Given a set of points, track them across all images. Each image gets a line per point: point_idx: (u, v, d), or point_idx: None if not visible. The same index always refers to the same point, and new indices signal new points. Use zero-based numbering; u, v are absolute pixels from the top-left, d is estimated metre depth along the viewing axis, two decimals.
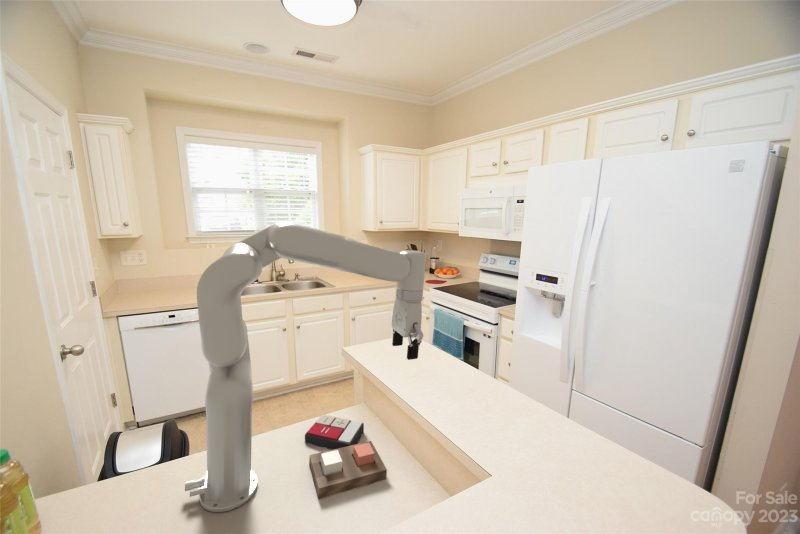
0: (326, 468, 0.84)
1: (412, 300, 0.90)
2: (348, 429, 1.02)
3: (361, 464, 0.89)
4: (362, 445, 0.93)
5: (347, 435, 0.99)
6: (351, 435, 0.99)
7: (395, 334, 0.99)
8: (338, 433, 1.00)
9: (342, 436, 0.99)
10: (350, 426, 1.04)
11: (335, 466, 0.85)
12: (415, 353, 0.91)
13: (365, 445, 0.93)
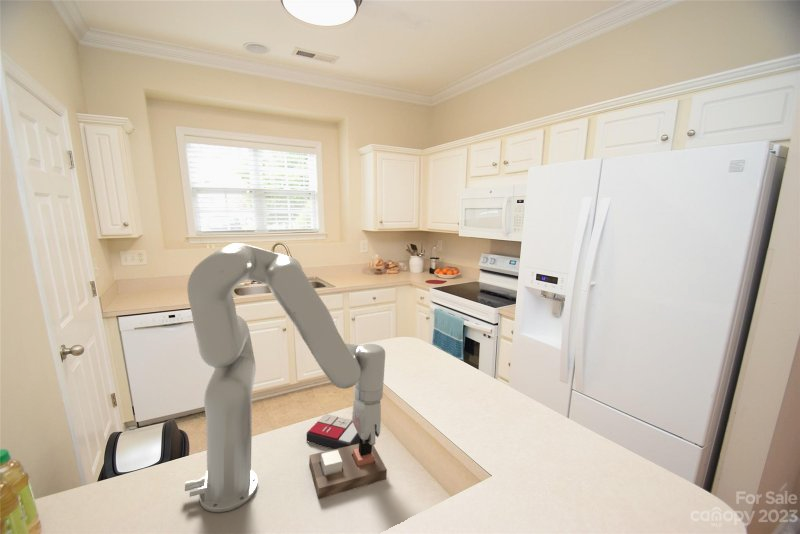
0: (326, 468, 0.84)
1: (370, 401, 0.85)
2: (349, 429, 1.02)
3: None
4: None
5: (348, 435, 0.99)
6: (352, 435, 0.99)
7: (361, 441, 0.90)
8: (339, 433, 1.00)
9: (343, 435, 0.99)
10: (351, 426, 1.04)
11: (335, 466, 0.85)
12: (368, 449, 0.90)
13: None
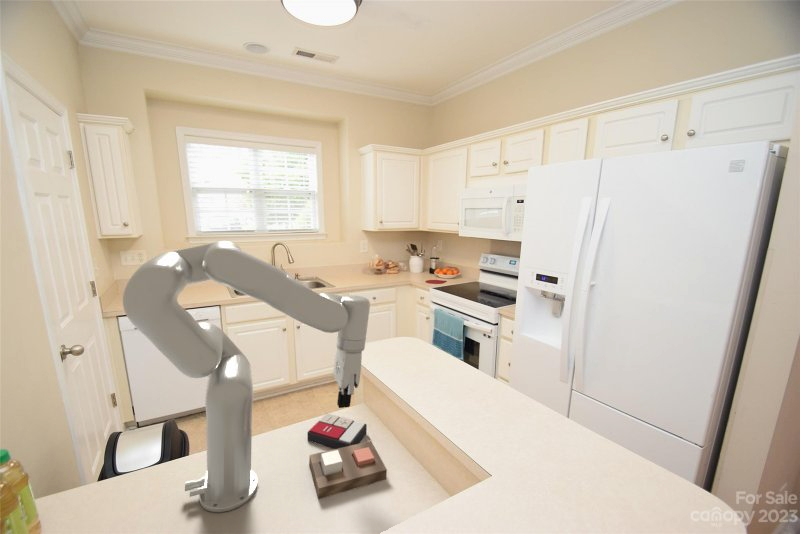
0: (326, 468, 0.84)
1: (351, 350, 0.85)
2: (350, 429, 1.02)
3: None
4: (362, 450, 0.93)
5: (348, 435, 0.99)
6: (352, 435, 0.99)
7: None
8: (340, 433, 1.00)
9: (344, 435, 0.99)
10: (352, 426, 1.04)
11: (335, 466, 0.85)
12: (346, 402, 0.89)
13: (365, 450, 0.93)
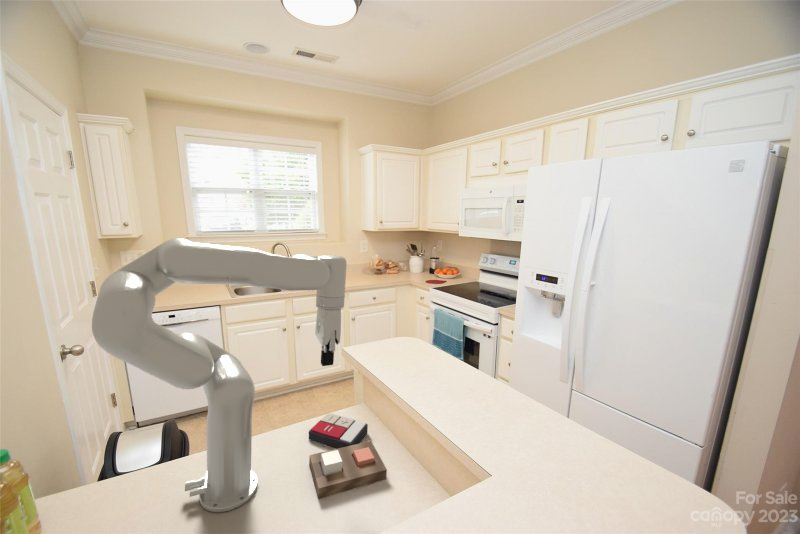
0: (326, 468, 0.84)
1: (330, 307, 0.87)
2: (351, 429, 1.02)
3: None
4: (362, 450, 0.93)
5: (349, 435, 1.00)
6: (353, 435, 0.99)
7: None
8: (341, 432, 1.00)
9: (344, 435, 0.99)
10: (353, 426, 1.04)
11: (335, 466, 0.85)
12: (329, 359, 0.91)
13: (365, 450, 0.93)
